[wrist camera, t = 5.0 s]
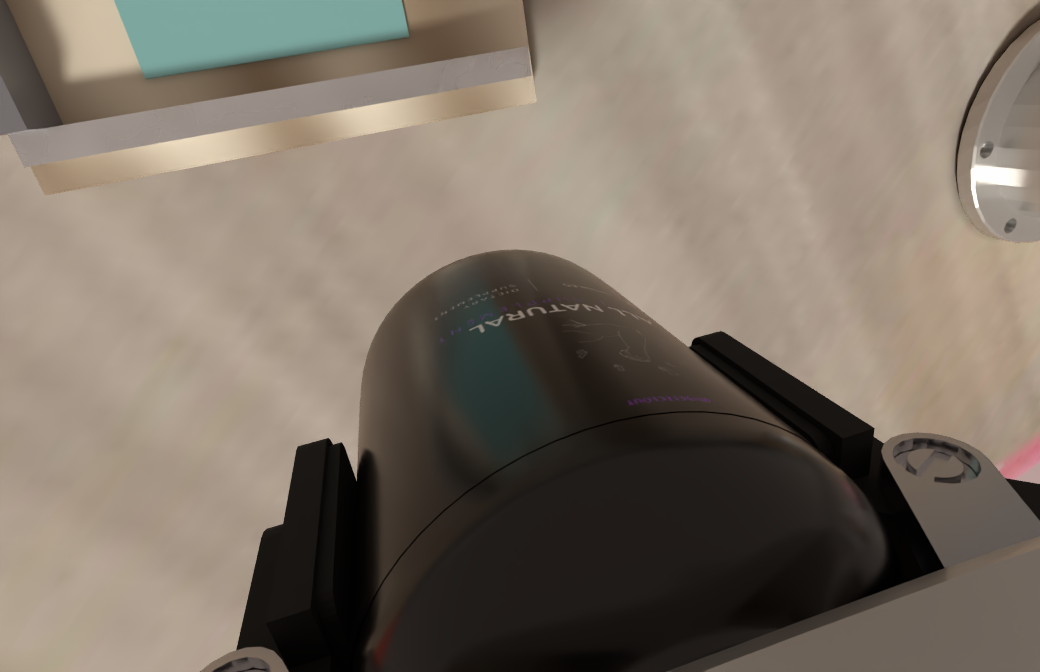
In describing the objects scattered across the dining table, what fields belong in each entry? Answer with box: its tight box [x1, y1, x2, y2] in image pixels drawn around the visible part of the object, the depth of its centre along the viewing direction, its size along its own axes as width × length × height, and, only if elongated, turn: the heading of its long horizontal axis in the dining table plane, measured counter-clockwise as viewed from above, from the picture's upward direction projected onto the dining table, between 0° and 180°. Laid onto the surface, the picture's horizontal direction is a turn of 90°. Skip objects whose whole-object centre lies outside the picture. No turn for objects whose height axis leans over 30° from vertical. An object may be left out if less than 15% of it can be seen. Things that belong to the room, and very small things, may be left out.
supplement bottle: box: [350, 250, 907, 672], centre depth 9 cm, size 7×7×12 cm
